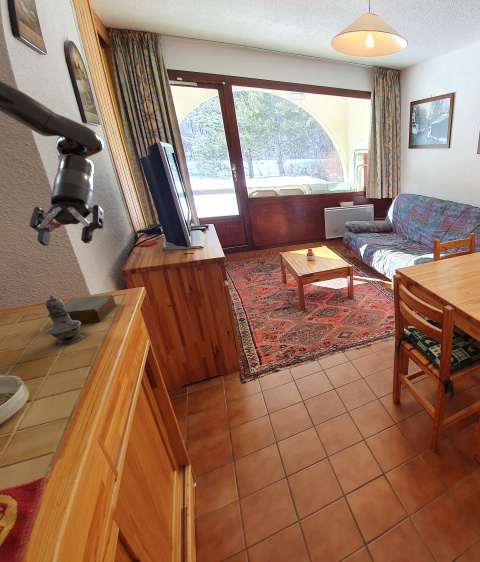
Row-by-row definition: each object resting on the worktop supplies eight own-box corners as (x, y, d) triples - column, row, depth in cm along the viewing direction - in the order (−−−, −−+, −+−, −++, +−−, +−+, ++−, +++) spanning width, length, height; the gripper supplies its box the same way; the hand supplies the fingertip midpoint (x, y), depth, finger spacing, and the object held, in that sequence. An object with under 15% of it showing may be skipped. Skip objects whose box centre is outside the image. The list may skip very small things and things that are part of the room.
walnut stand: (54, 326, 81) (49, 314, 80) (75, 309, 90) (70, 298, 88) (100, 321, 84) (95, 309, 83) (116, 305, 93) (112, 293, 91)
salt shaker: (47, 344, 74) (25, 299, 69) (74, 331, 79) (55, 288, 75) (65, 347, 73) (44, 302, 68) (91, 334, 78) (74, 291, 73)
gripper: (28, 181, 78) (16, 237, 73) (96, 180, 82) (89, 233, 77) (50, 200, 85) (40, 252, 79) (112, 198, 89) (106, 247, 83)
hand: (64, 243), depth 78 cm, fingers open, 8 cm apart
